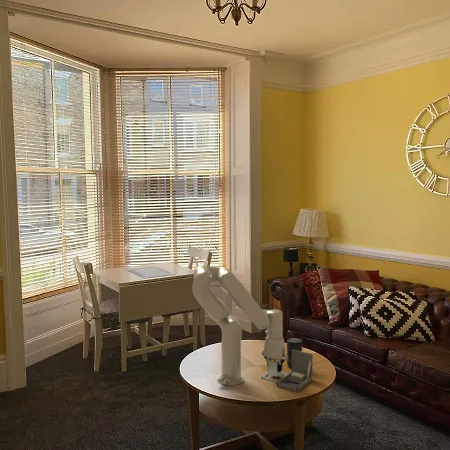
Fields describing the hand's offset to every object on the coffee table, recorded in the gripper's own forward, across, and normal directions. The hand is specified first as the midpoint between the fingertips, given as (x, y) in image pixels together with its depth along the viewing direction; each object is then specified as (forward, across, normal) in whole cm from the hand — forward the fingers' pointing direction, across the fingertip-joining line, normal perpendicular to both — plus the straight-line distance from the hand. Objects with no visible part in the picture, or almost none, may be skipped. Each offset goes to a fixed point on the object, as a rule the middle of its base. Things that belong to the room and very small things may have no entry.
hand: (274, 369), depth 243 cm
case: (+4, +12, -2) cm, 12 cm away
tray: (+4, 0, 0) cm, 4 cm away
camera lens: (+5, +2, +18) cm, 18 cm away
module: (+2, 0, 0) cm, 2 cm away
